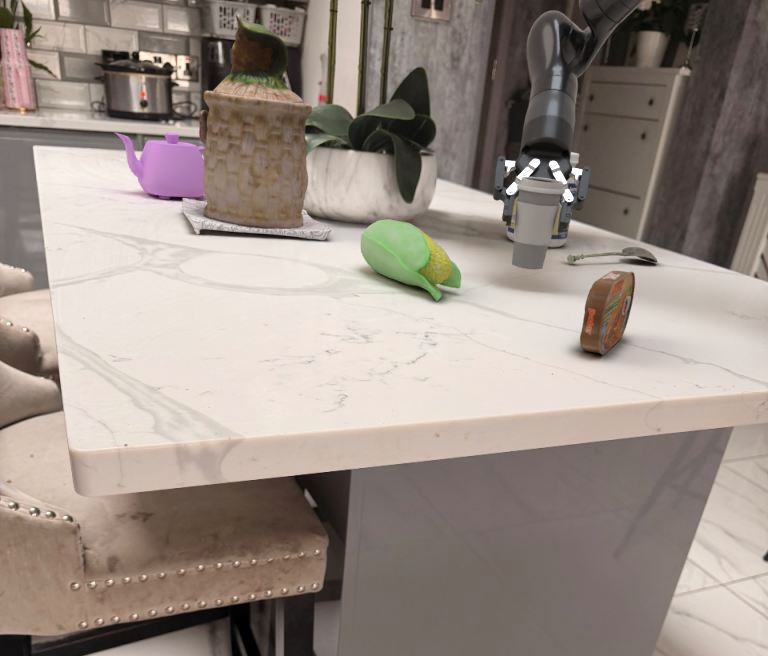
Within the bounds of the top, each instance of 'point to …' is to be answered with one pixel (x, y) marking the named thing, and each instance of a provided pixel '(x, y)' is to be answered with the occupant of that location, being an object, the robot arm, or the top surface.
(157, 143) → the teapot
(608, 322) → the tin
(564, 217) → the robot arm
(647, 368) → the top surface
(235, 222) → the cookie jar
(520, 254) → the cup
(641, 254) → the soupspoon
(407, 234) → the corn
